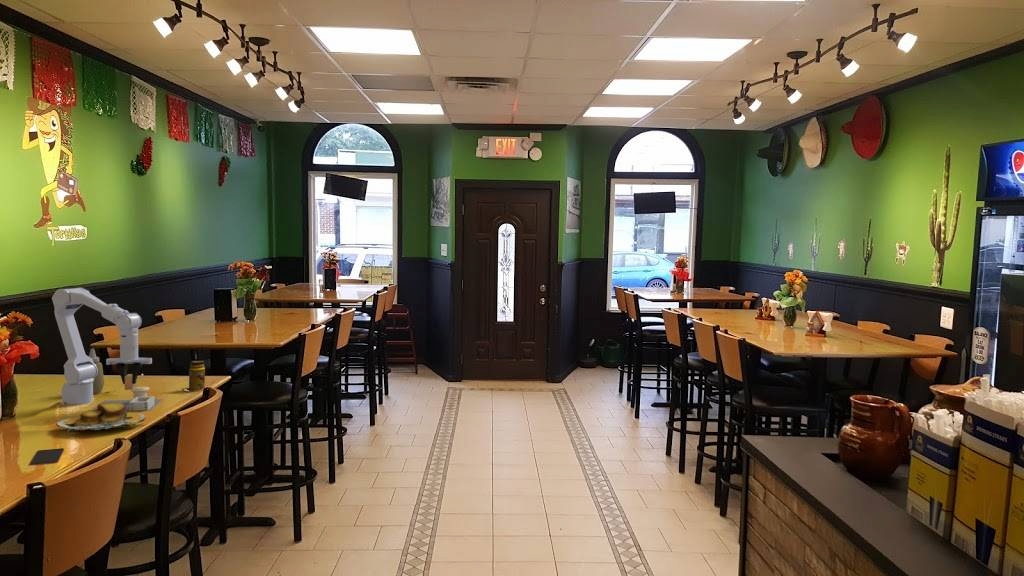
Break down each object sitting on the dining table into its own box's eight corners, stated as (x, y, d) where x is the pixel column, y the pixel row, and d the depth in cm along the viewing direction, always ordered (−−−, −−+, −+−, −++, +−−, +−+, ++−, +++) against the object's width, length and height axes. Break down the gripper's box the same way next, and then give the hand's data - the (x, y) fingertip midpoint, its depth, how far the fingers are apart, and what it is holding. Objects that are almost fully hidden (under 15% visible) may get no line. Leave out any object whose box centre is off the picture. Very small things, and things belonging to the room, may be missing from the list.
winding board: (88, 416, 232) (88, 398, 231) (104, 404, 248) (104, 387, 248) (150, 414, 237) (150, 396, 236) (162, 402, 253) (162, 386, 253)
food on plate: (37, 433, 211) (37, 413, 211) (97, 414, 236) (97, 396, 235) (107, 440, 207) (107, 419, 207) (161, 419, 232) (161, 401, 231)
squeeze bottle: (106, 390, 269) (106, 347, 268) (101, 395, 261) (101, 350, 260) (84, 391, 266) (83, 347, 265) (77, 395, 259) (77, 350, 257)
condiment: (206, 390, 276) (207, 362, 275) (184, 392, 271) (184, 363, 270) (204, 386, 282) (204, 359, 281) (182, 388, 277) (182, 360, 276)
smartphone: (65, 447, 198) (58, 462, 185) (65, 449, 198) (58, 464, 185) (37, 450, 194) (27, 465, 182) (37, 452, 194) (27, 467, 182)
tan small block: (124, 389, 239) (124, 376, 239) (128, 387, 243) (128, 374, 243) (132, 389, 240) (132, 376, 240) (135, 387, 244) (135, 374, 243)
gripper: (103, 348, 234) (103, 386, 235) (148, 348, 238) (148, 385, 238) (109, 345, 241) (110, 382, 242) (153, 345, 244) (153, 381, 245)
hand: (129, 383), depth 240 cm, fingers closed on tan small block, 2 cm apart
